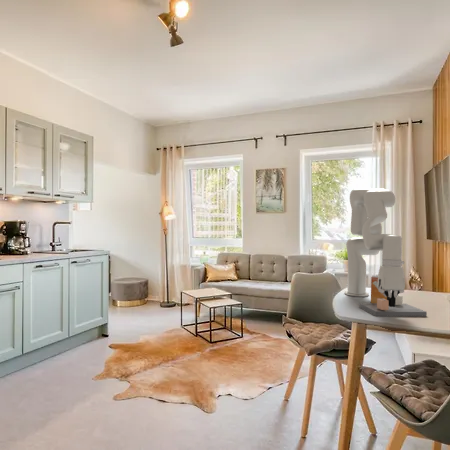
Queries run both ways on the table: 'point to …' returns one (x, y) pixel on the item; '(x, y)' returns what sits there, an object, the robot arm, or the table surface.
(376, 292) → the small box
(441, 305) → the table surface
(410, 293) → the table surface
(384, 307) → the block
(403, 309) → the plate
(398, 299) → the cream fader
